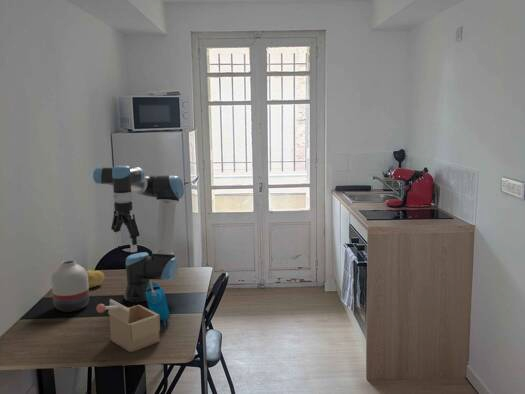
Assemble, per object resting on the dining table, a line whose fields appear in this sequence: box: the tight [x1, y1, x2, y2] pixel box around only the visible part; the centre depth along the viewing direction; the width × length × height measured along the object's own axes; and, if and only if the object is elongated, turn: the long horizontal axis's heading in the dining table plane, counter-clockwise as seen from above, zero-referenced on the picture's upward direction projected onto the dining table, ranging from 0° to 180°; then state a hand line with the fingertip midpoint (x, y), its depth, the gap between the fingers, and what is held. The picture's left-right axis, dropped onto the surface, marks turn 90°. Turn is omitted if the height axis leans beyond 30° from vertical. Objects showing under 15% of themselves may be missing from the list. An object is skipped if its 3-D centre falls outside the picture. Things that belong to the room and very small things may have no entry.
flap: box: [95, 298, 130, 324], centre depth 208 cm, size 16×7×10 cm
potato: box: [86, 269, 105, 289], centre depth 284 cm, size 10×14×10 cm
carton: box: [108, 304, 161, 353], centre depth 218 cm, size 17×15×12 cm
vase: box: [51, 259, 90, 313], centre depth 254 cm, size 17×17×24 cm
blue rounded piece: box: [145, 280, 171, 327], centre depth 236 cm, size 17×10×20 cm, turn 15°
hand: (126, 248), depth 226 cm, fingers open, 13 cm apart
